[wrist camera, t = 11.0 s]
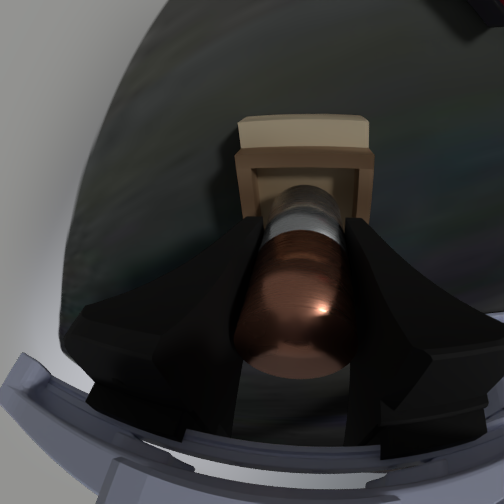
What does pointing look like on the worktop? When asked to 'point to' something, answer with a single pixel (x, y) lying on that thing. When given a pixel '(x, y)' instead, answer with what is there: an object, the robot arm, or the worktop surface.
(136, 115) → the worktop surface
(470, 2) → the calculator
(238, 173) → the tan rectangular frame
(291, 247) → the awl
